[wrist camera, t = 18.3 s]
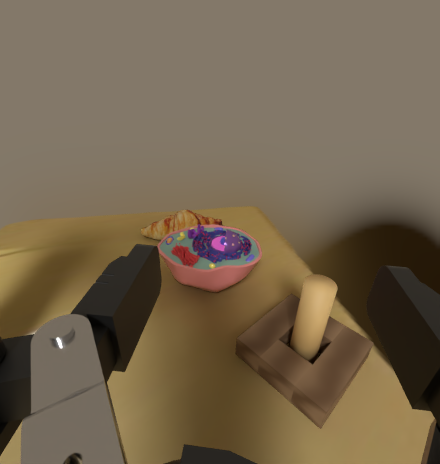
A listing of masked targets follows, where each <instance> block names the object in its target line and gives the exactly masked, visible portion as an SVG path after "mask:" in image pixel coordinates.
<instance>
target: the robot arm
mask: <svg viewBox="0 0 440 464" xmlns="http://www.w3.org/2000/svg"><path fill="white" fill-rule="evenodd" d="M160 289H161V269H160V259H159V250H158V247H157V246H153V245H141V244H136V245H135V246H134V248H133V249H132V251H131V252H130V253H129V255H128V256H127V257H125V256H121V257H119V258H118V259H116V260H115V261H113V262H111V263H110V264H109V265H108V266H107V268H106V269H105V270H104V271H103V273H102V275H100V277H99V278H98V279H97V280H96V283H94V284H93V285H92V287H91V288H90V289H89V291H88V292H87V293H86V294H85V296H84V297H83V298H82V300H81V301H80V302H79V303H78V305H77V306H76V307H75V308H74V310H73V311H72V312H71V314H68V315H63V316H60V317H57V318H54V319H52V320H50V321H49V322H47V323H45V324H44V325H43V326H42V327H40V328H39V329H38V330H37V332H36V333H35V334H33V335H27V336H20V337H14V338H7V339H1V337H0V456H1V454H2V452H3V451H4V449H5V448H6V446H7V444H8V443H9V441H10V439H11V438H12V436H13V435H14V433H15V431H16V430H17V428H18V427H19V425H20V423H21V422H22V420H23V423H22V430H21V464H128V462H127V459H126V455H125V451H124V447H123V444H122V440H121V436H120V432H119V428H118V424H117V420H116V416H115V412H114V408H113V404H112V400H111V396H110V392H109V389H108V385H107V381H108V379H109V377H110V375H111V373H112V371H121V372H125V370H126V368H127V366H128V364H129V361H130V359H131V357H132V355H133V352H134V350H135V348H136V345H137V343H138V341H139V339H140V336H141V334H142V332H143V330H144V327H145V325H146V323H147V321H148V318H149V316H150V314H151V312H152V309H153V307H154V305H155V303H156V300H157V298H158V296H159V293H160ZM366 307H367V314H368V316H369V319H370V321H371V323H372V325H373V327H374V329H375V331H376V334H377V335H378V338H379V340H380V342H381V344H382V346H383V348H384V350H385V352H386V354H387V356H388V359H389V361H390V363H391V365H392V367H393V369H394V371H395V373H396V375H397V377H398V379H399V382H400V384H401V386H402V388H403V390H404V392H405V394H406V396H407V398H408V400H409V402H410V405H411V407H412V409H418V410H426V411H431V412H432V414H433V416H434V417H435V419H434V421H433V422H432V423H431V426H430V429H429V433H428V437H427V441H426V445H425V449H424V453H423V457H422V461H421V464H440V295H439V294H438V293H436V292H435V291H433V290H432V289H431V288H429V287H428V286H426V285H425V284H423V283H420V281H419V280H418V279H417V278H416V277H415V275H414V274H413V273H412V272H411V271H410V269H408V268H405V267H394V266H381V267H380V269H379V270H378V272H377V275H376V278H375V280H374V283H373V285H372V288H371V291H370V293H369V296H368V299H367V305H366ZM165 464H256V463H254V462H252V461H250V460H248V459H246V458H244V457H242V456H239V455H237V454H235V453H233V452H231V451H227V450H220V449H213V448H206V447H199V446H192V445H185V444H184V447H183V452H182V458H181V459H180V460H174V461H171V462H168V463H165Z"/></svg>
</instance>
